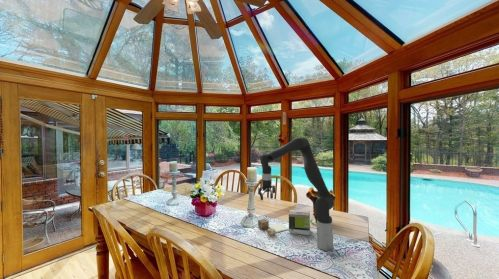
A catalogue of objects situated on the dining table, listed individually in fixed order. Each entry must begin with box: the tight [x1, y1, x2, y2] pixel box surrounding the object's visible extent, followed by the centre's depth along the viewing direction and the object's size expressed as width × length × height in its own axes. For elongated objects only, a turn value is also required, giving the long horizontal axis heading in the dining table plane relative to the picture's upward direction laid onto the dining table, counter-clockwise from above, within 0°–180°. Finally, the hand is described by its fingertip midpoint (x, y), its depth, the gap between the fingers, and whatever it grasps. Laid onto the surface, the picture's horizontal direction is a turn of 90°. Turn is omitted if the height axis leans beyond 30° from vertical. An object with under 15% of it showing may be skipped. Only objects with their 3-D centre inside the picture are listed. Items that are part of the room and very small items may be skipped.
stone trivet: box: [269, 222, 289, 234], centre depth 177 cm, size 12×12×1 cm
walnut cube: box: [257, 218, 270, 231], centre depth 178 cm, size 6×6×6 cm
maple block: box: [266, 228, 276, 237], centre depth 166 cm, size 4×4×4 cm
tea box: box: [288, 209, 311, 236], centre depth 170 cm, size 15×10×15 cm
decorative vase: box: [305, 186, 336, 227], centre depth 187 cm, size 21×23×28 cm
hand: (266, 199), depth 179 cm, fingers open, 8 cm apart
